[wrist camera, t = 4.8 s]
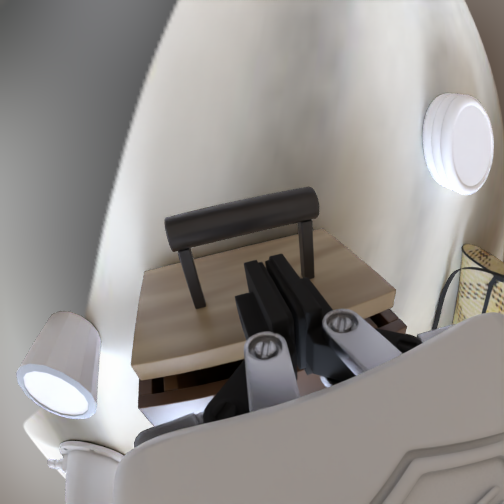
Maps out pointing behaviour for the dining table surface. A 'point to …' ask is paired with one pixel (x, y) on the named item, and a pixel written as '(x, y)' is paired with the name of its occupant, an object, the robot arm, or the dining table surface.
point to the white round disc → (458, 142)
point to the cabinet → (197, 398)
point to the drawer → (237, 285)
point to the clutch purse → (476, 285)
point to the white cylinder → (63, 367)
